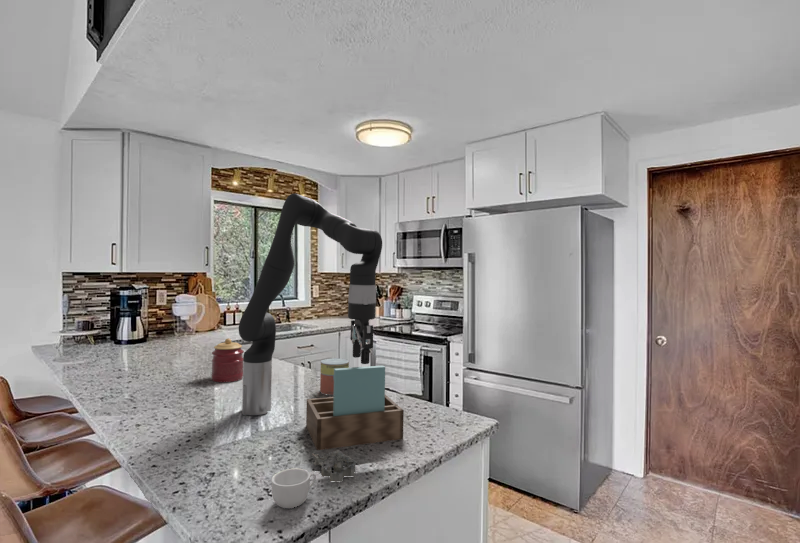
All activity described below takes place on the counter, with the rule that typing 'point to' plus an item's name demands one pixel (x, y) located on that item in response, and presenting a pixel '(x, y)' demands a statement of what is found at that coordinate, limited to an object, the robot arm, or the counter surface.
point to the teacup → (291, 487)
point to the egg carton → (336, 465)
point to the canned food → (330, 373)
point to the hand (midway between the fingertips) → (360, 360)
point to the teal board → (359, 390)
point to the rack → (352, 425)
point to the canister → (227, 362)
